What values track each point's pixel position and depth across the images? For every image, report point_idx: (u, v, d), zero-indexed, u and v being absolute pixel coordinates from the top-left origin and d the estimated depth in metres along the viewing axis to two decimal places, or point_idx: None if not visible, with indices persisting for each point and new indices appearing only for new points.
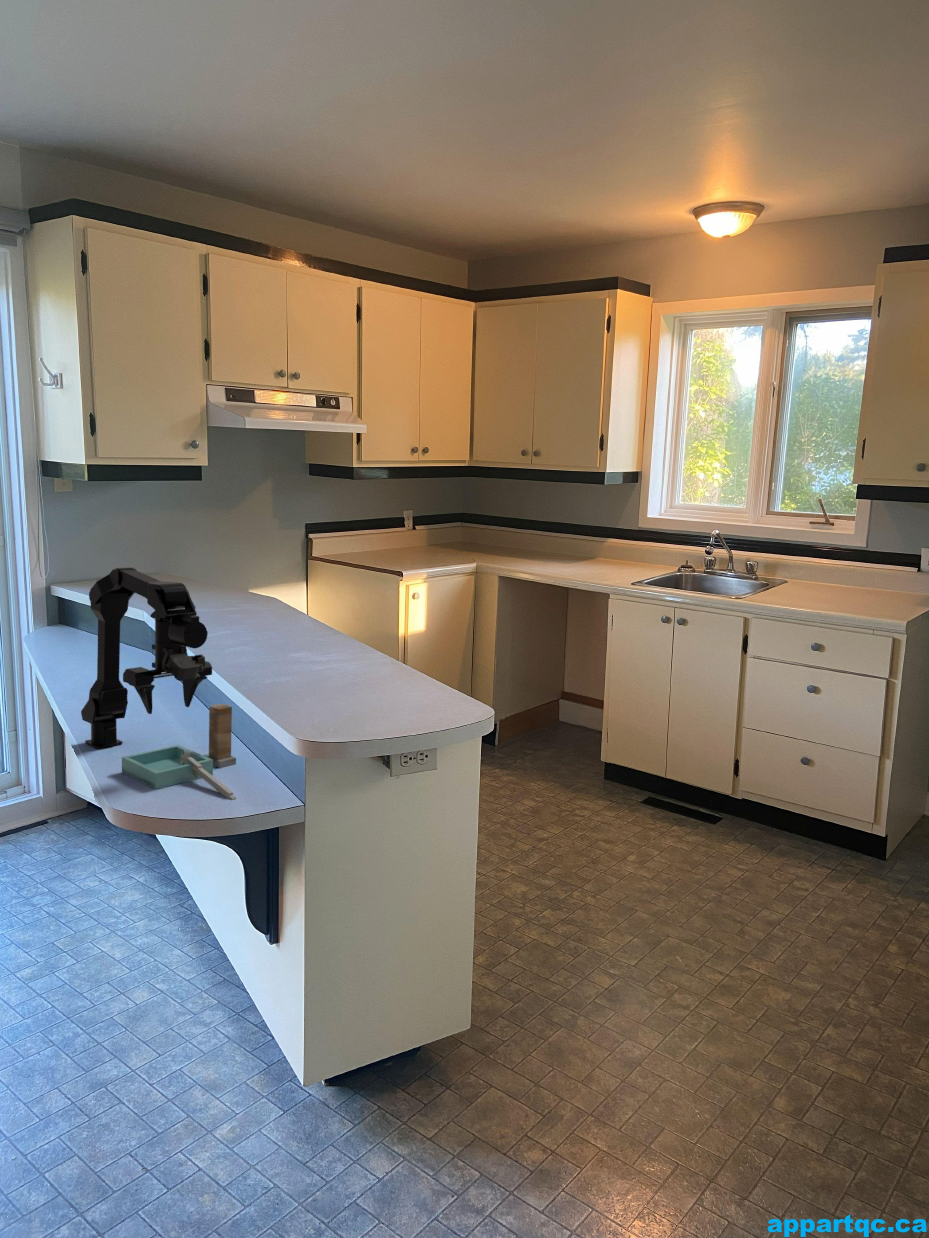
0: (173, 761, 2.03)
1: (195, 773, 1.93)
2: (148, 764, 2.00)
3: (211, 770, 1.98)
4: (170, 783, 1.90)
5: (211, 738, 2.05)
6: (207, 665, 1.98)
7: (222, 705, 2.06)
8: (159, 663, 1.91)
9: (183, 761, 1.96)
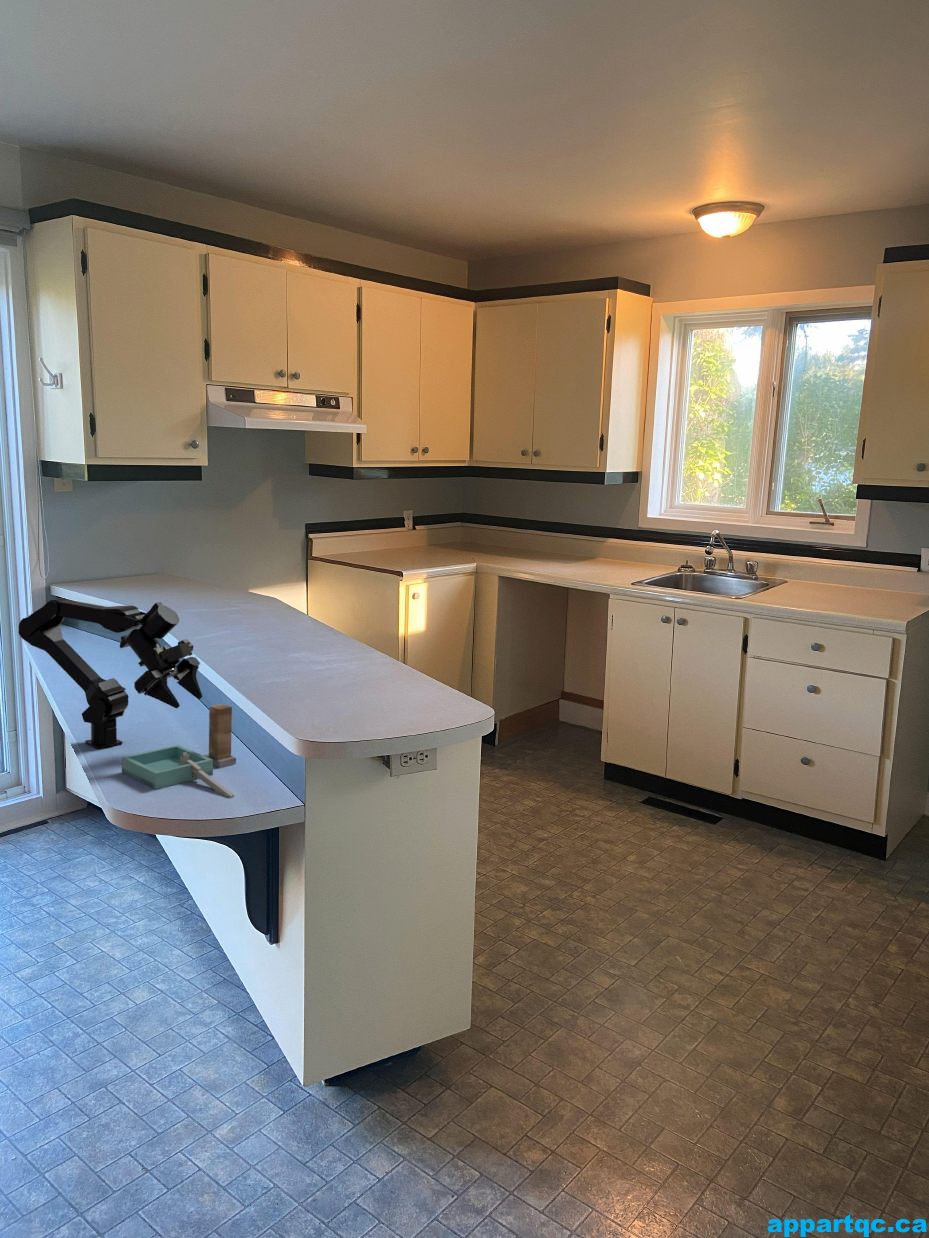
0: (173, 761, 2.03)
1: (195, 776, 1.93)
2: (148, 764, 2.00)
3: (211, 770, 1.98)
4: (170, 783, 1.90)
5: (211, 738, 2.05)
6: (191, 657, 2.14)
7: (222, 705, 2.06)
8: (156, 666, 2.05)
9: (182, 764, 1.96)
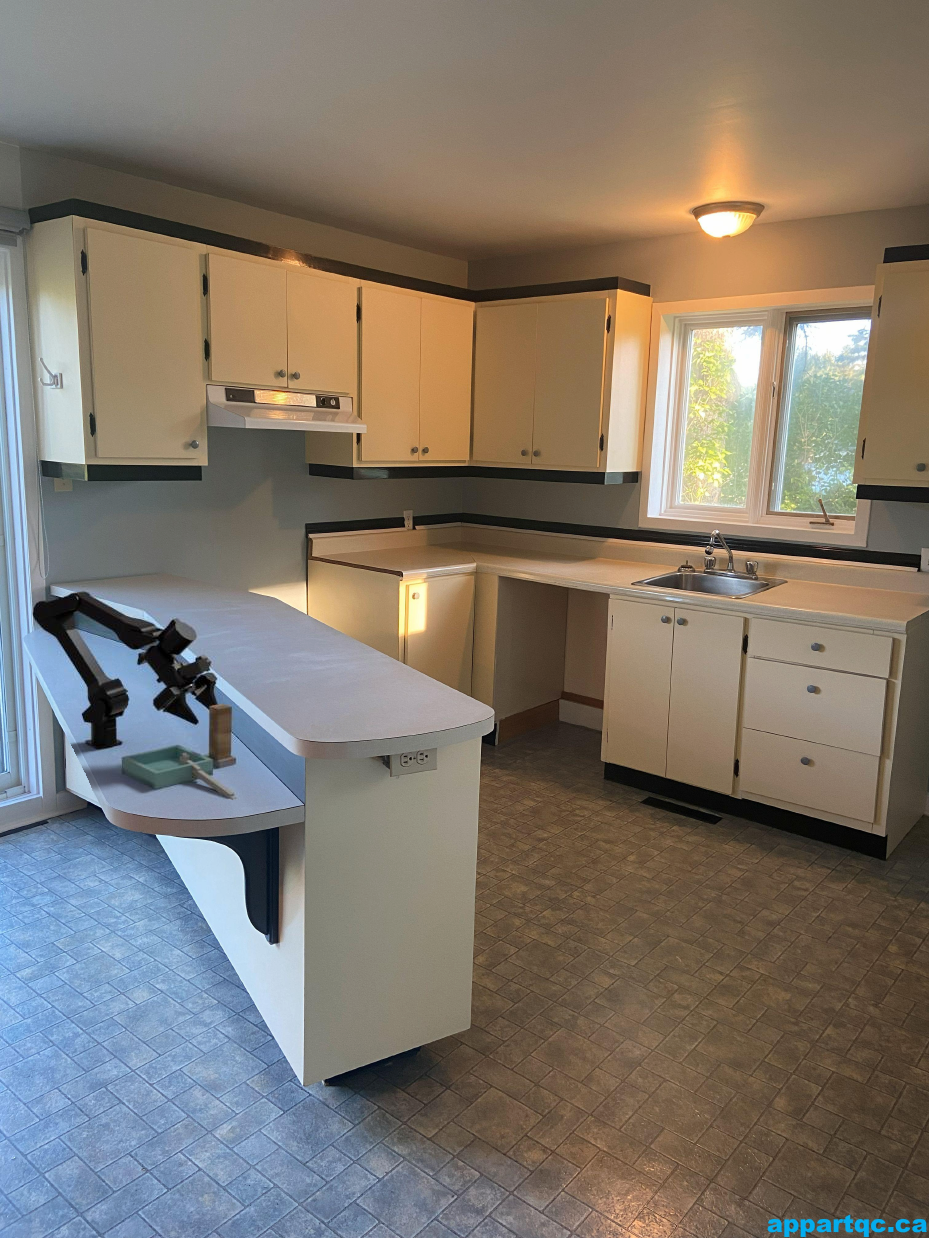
0: (173, 761, 2.03)
1: (195, 776, 1.93)
2: (148, 764, 2.00)
3: (211, 770, 1.98)
4: (170, 783, 1.90)
5: (211, 738, 2.05)
6: (209, 673, 2.13)
7: (222, 705, 2.06)
8: (174, 683, 2.04)
9: (182, 764, 1.96)
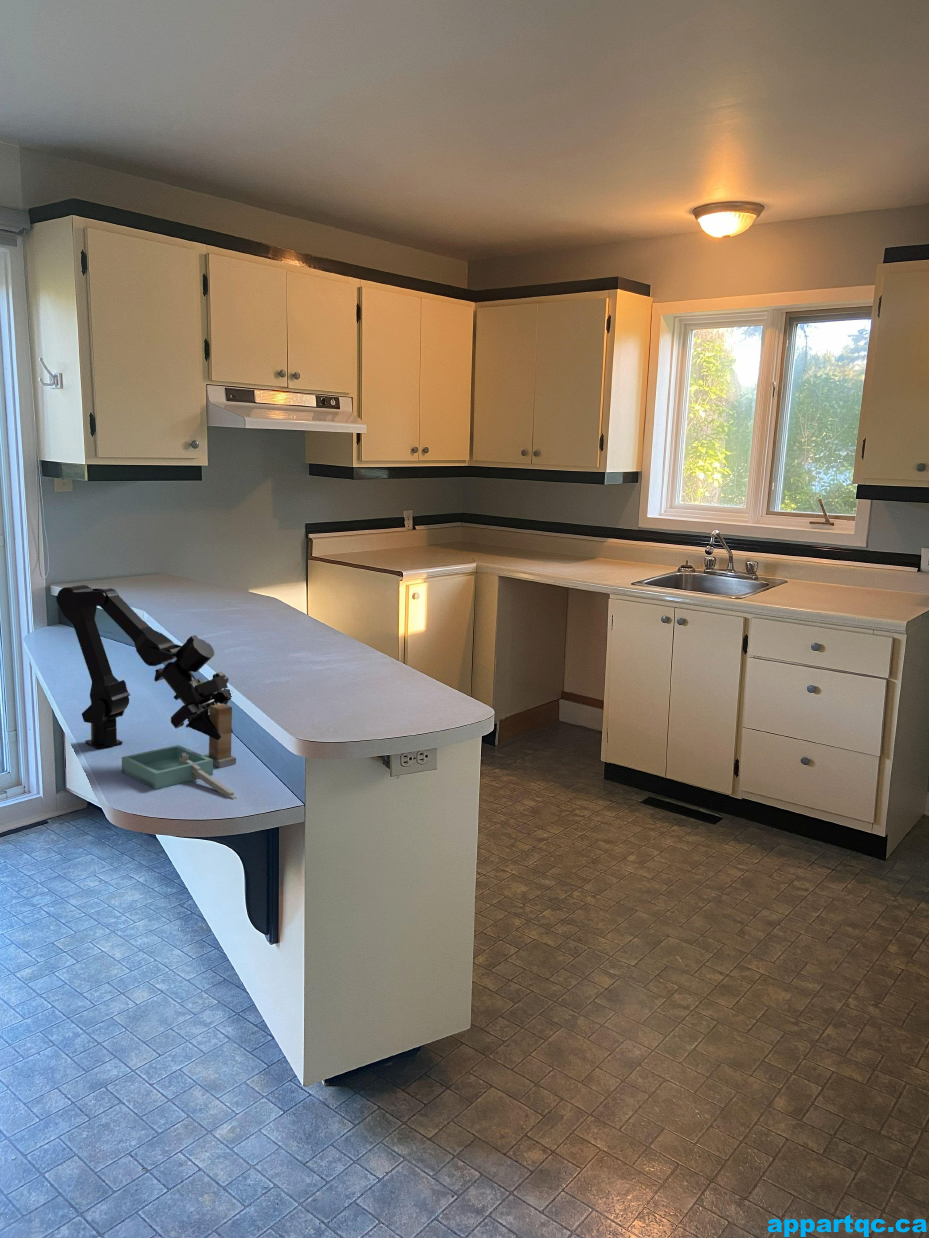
0: (173, 761, 2.03)
1: (194, 776, 1.93)
2: (148, 764, 2.00)
3: (211, 770, 1.98)
4: (170, 783, 1.90)
5: (211, 738, 2.05)
6: (225, 689, 2.13)
7: (222, 705, 2.06)
8: (191, 700, 2.03)
9: (181, 764, 1.96)
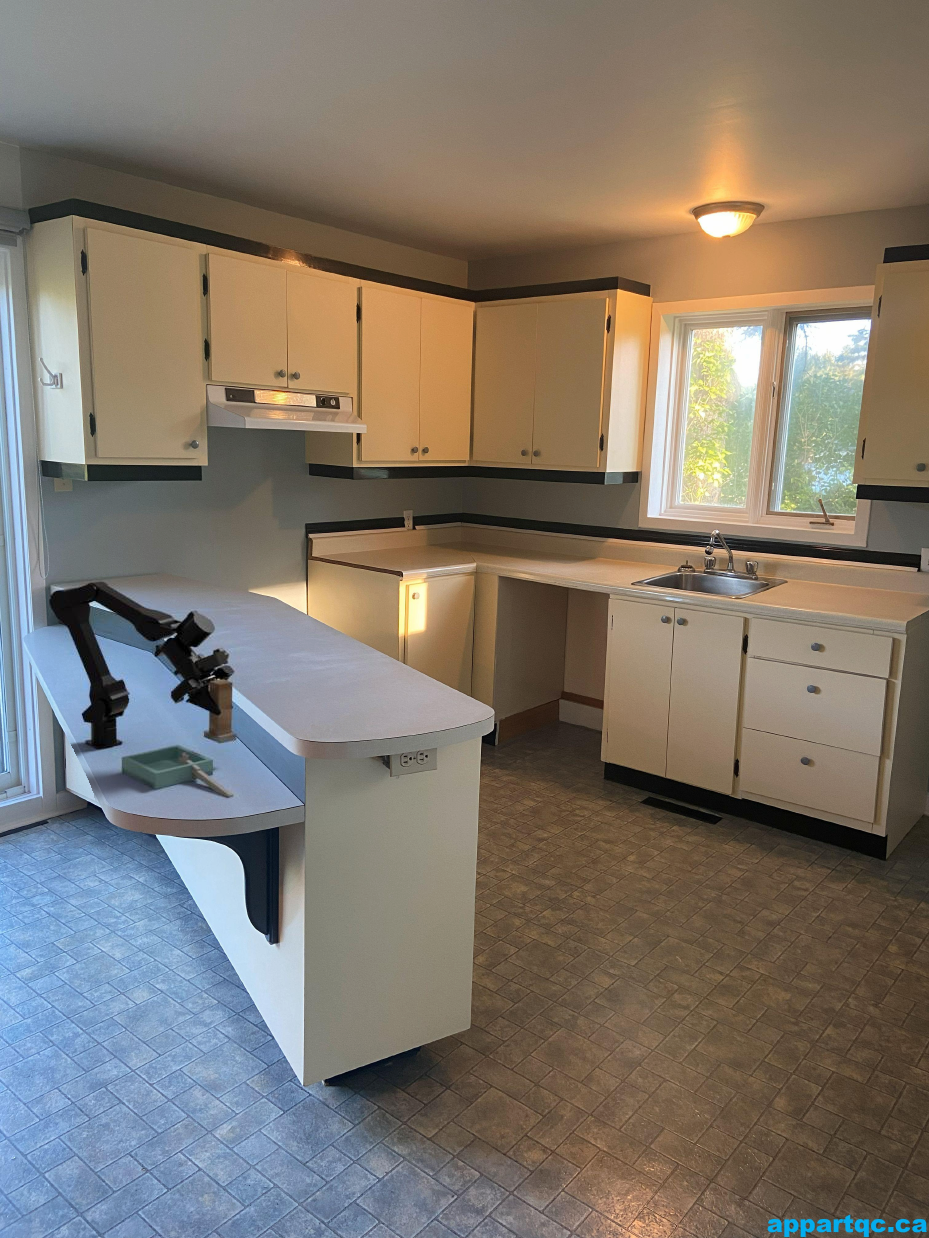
0: (173, 761, 2.03)
1: (194, 776, 1.94)
2: (148, 764, 2.00)
3: (211, 770, 1.98)
4: (170, 783, 1.90)
5: (211, 714, 2.04)
6: (226, 666, 2.12)
7: (223, 681, 2.05)
8: (191, 675, 2.02)
9: (181, 764, 1.96)
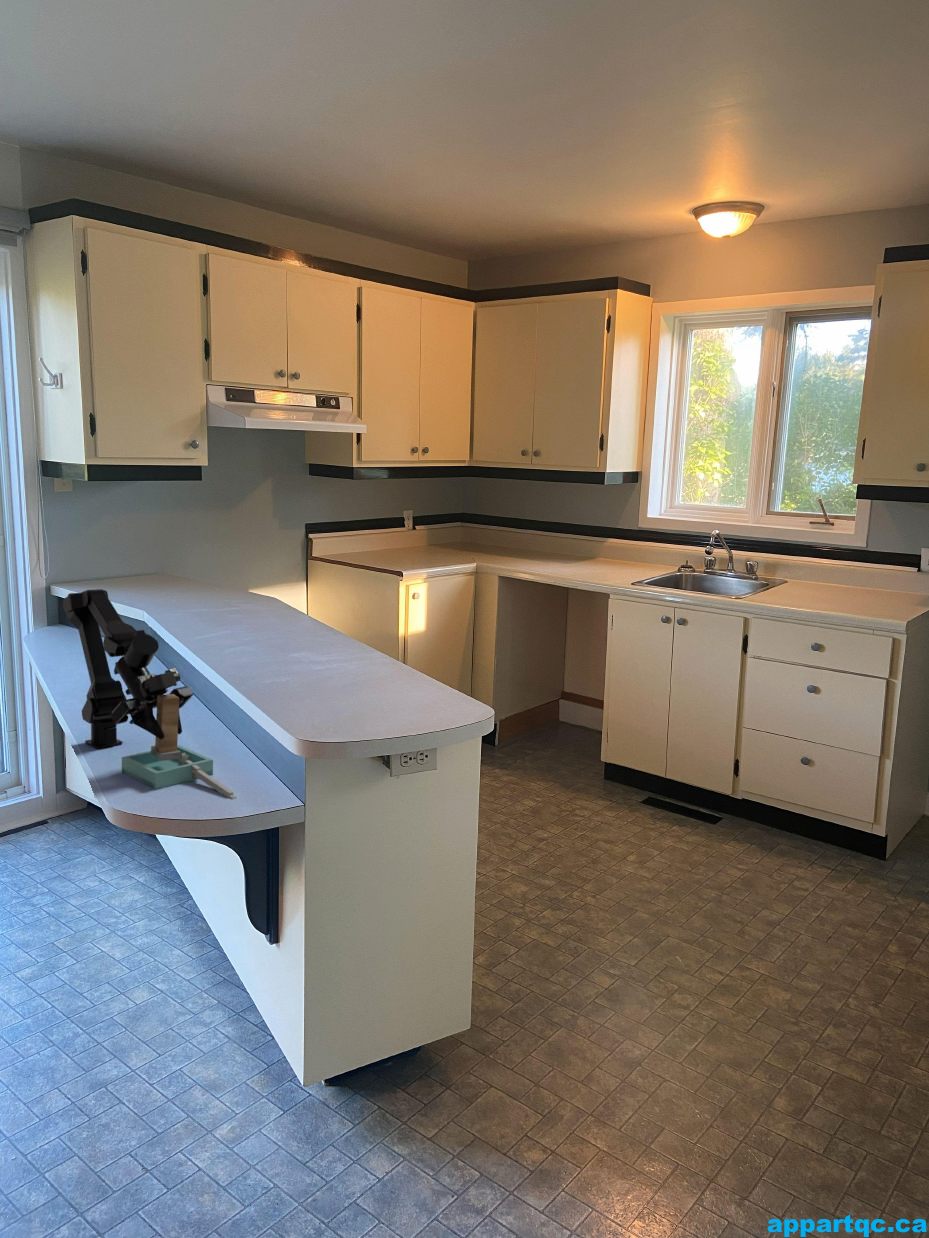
0: (173, 761, 2.03)
1: (194, 776, 1.94)
2: (148, 764, 2.00)
3: (211, 770, 1.98)
4: (170, 783, 1.90)
5: None
6: (184, 687, 2.03)
7: (171, 695, 1.96)
8: (139, 696, 1.95)
9: (181, 764, 1.96)
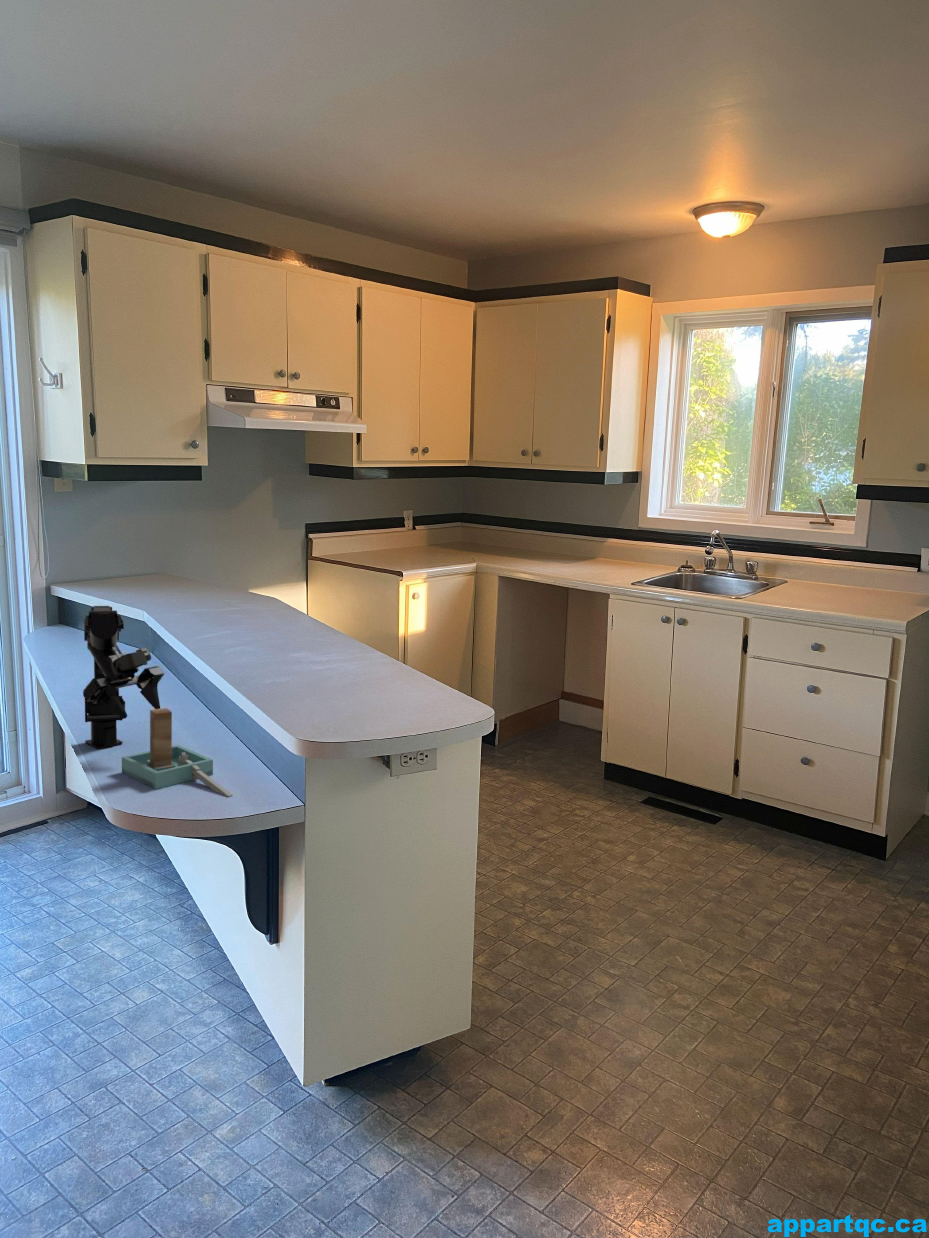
0: (173, 761, 2.03)
1: (193, 776, 1.94)
2: None
3: (211, 770, 1.98)
4: (170, 783, 1.90)
5: (151, 743, 1.95)
6: (155, 667, 2.08)
7: (164, 709, 1.96)
8: (110, 675, 2.00)
9: (181, 764, 1.97)
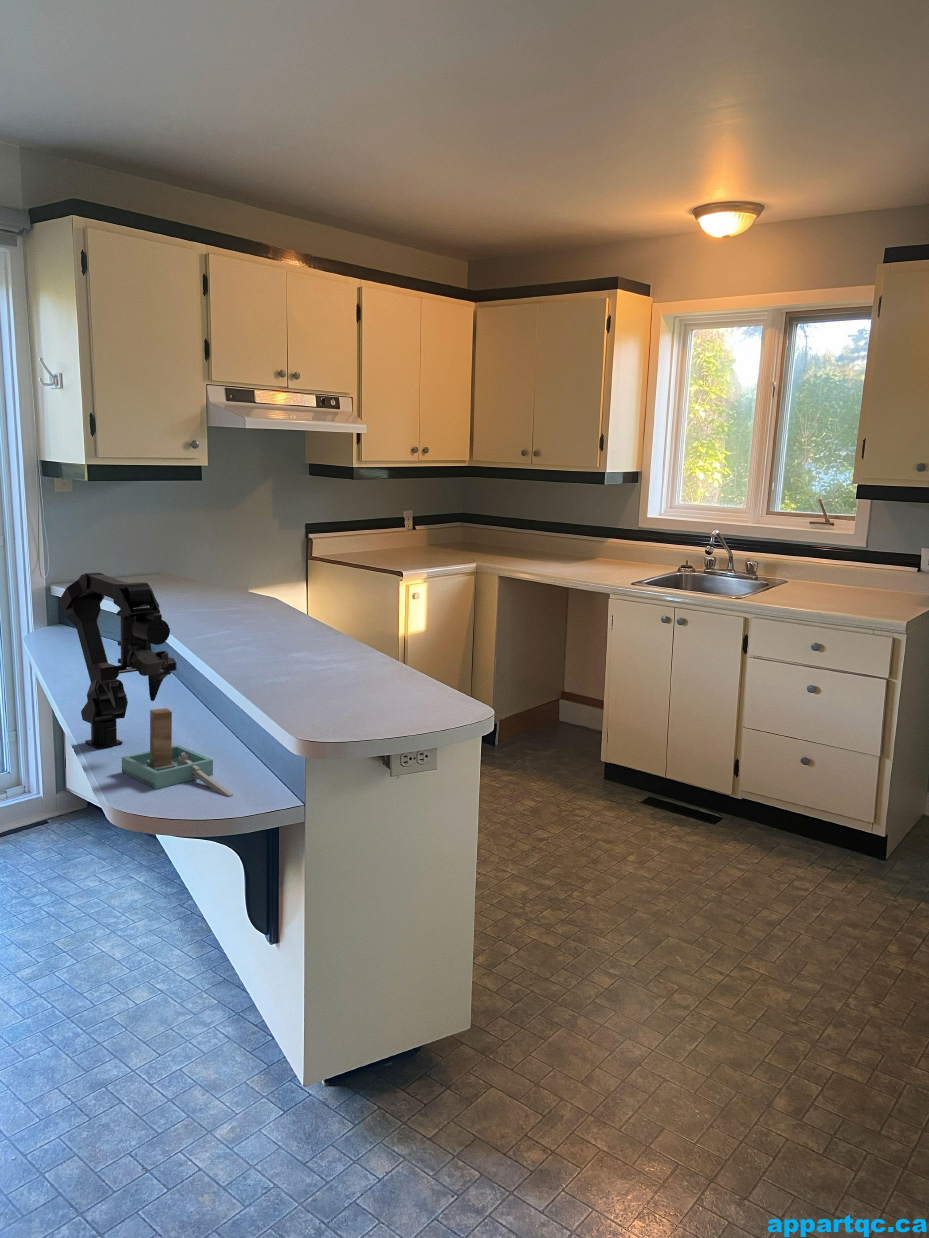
0: (173, 761, 2.03)
1: (193, 776, 1.94)
2: None
3: (211, 770, 1.98)
4: (170, 783, 1.90)
5: (151, 743, 1.95)
6: (171, 661, 2.07)
7: (164, 709, 1.96)
8: (124, 659, 2.00)
9: (180, 764, 1.97)
